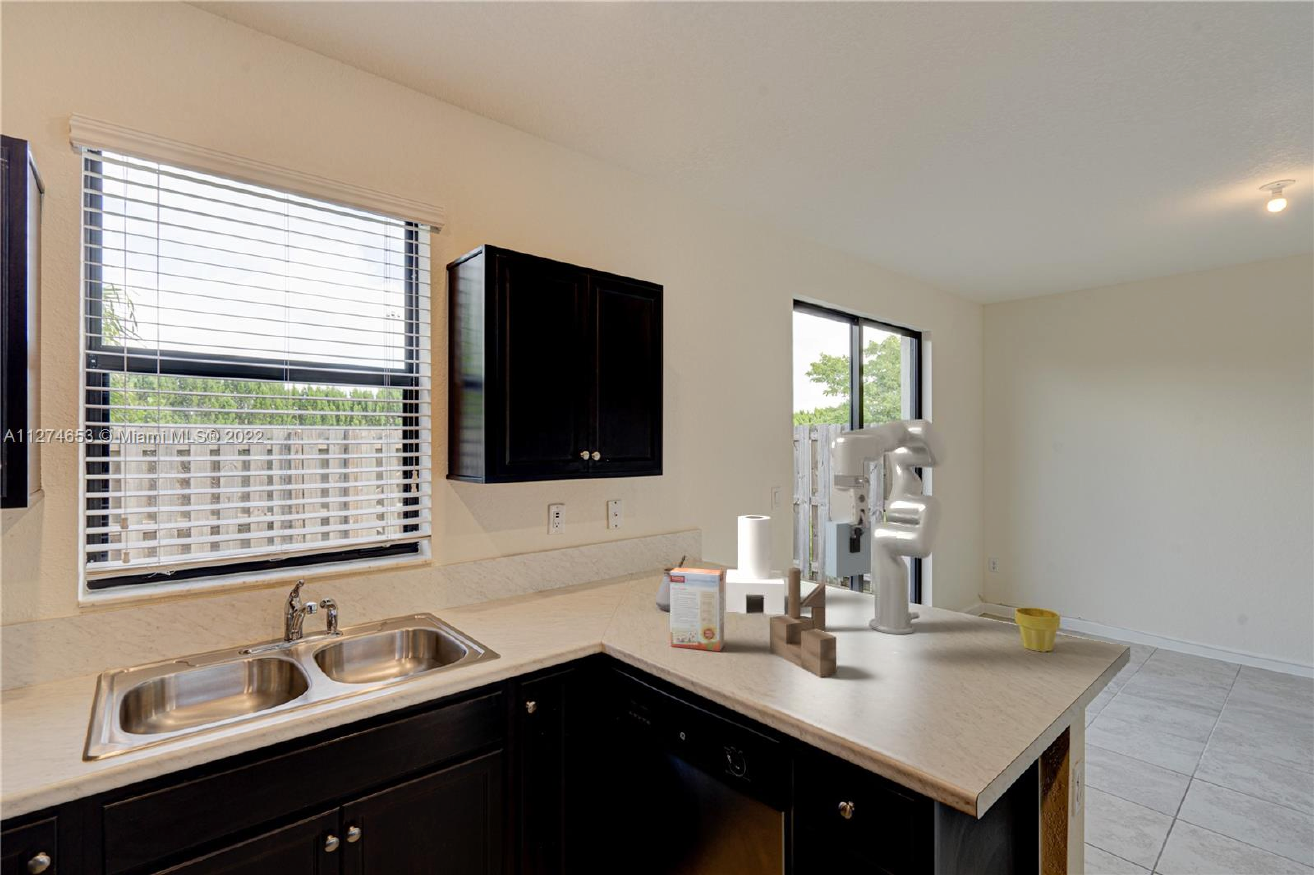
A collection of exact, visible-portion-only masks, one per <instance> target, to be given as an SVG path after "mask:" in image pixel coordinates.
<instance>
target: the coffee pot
mask: <svg viewBox="0 0 1314 875" xmlns="http://www.w3.org/2000/svg"><path fill="white" fill-rule="evenodd" d="M686 558H687V559H686ZM688 560H689V558H688V555H687V556H686V554H685V555H684V554H683V556H682V558H681V560H680V561H679V563H678V566H677V568H683V564H684V561H688ZM675 568H676V567H668V568H663V569H662V572H663V575H664V577H663V578H662V581H661V583H660V585H659V588H658V591H657V593H656V596H655V598H654V601H655V604H656V606H657V607H658V608H660V610H661V611H664V612H670V571H672V570H674V569H675Z"/></svg>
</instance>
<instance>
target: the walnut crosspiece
mask: <svg viewBox="0 0 1314 875" xmlns="http://www.w3.org/2000/svg"><path fill="white" fill-rule="evenodd" d="M769 652H771V653H773V654H775V655H776V656H778V657H781V659H782V658H783V659H784V660H786V661H788V662H790V663H791V664H793V663H794V665H796V666H798V667H799V668H801V667H802V668H801V669H803V670H805V671H807V672H809V673H810V672H811V674H812V675H814V676H816V677H818V676H819V678H820V677H821V678H825V677H829V676H833V675H837V636H835V635H833V634H830V633H828V632H826V631H825V632H823V631H821V630H819V629H813V630H807V631H802V622H800V621H798V620H795V619H793V618H791V617H788V615H785V614H784V615H776V616H770V617H769ZM824 676H825V677H824Z"/></svg>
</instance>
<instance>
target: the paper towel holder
mask: <svg viewBox="0 0 1314 875" xmlns="http://www.w3.org/2000/svg"><path fill="white" fill-rule="evenodd" d="M771 526H772V519H771V517H770V516H768V515H755V514H753V515H752V514H751V515H750V514H749V515H748V514H747V515H740V516H739V515H738V516H737V542H738V543H737V553H738V554H737V569H726V575H725V576H726V577H725V578H726V579H725V613H726V612H739V613H738V614H747V595H754V596H755V595H756V596H757V595H758V596H759V595H761V599H762V598H764V599H763V614H764V613H766V614H765V615H775V614H784V615H785V582H784V577H783V573H782V570H771V569H772V567H771V566H772V564H771V563H772V558H771V556H772V550H771V549H772V545H771V544H772V543H771V541H772V540H771V539H772V538H771V536H772V532H771V531H772V530H771V528H772V527H771Z"/></svg>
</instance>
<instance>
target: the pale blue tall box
mask: <svg viewBox="0 0 1314 875" xmlns="http://www.w3.org/2000/svg"><path fill="white" fill-rule="evenodd" d="M869 526H870V528H869V529H868V530H866V531H865V532H864V533H863V535H862V537H860V552H857V553H850V538H851V537H852V536H851V529H850V526H849V525H848V523H845V522H840V521H832V522H829V521H826V522H825V575H826V576H828V577H832V578H835V579H840V578H845V577H846V578H847V577H854V576H860V575H861V576H862V575H869V574H871V573H872V540H871V532H872V520H869ZM856 530H857V528H855V531H856Z"/></svg>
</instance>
